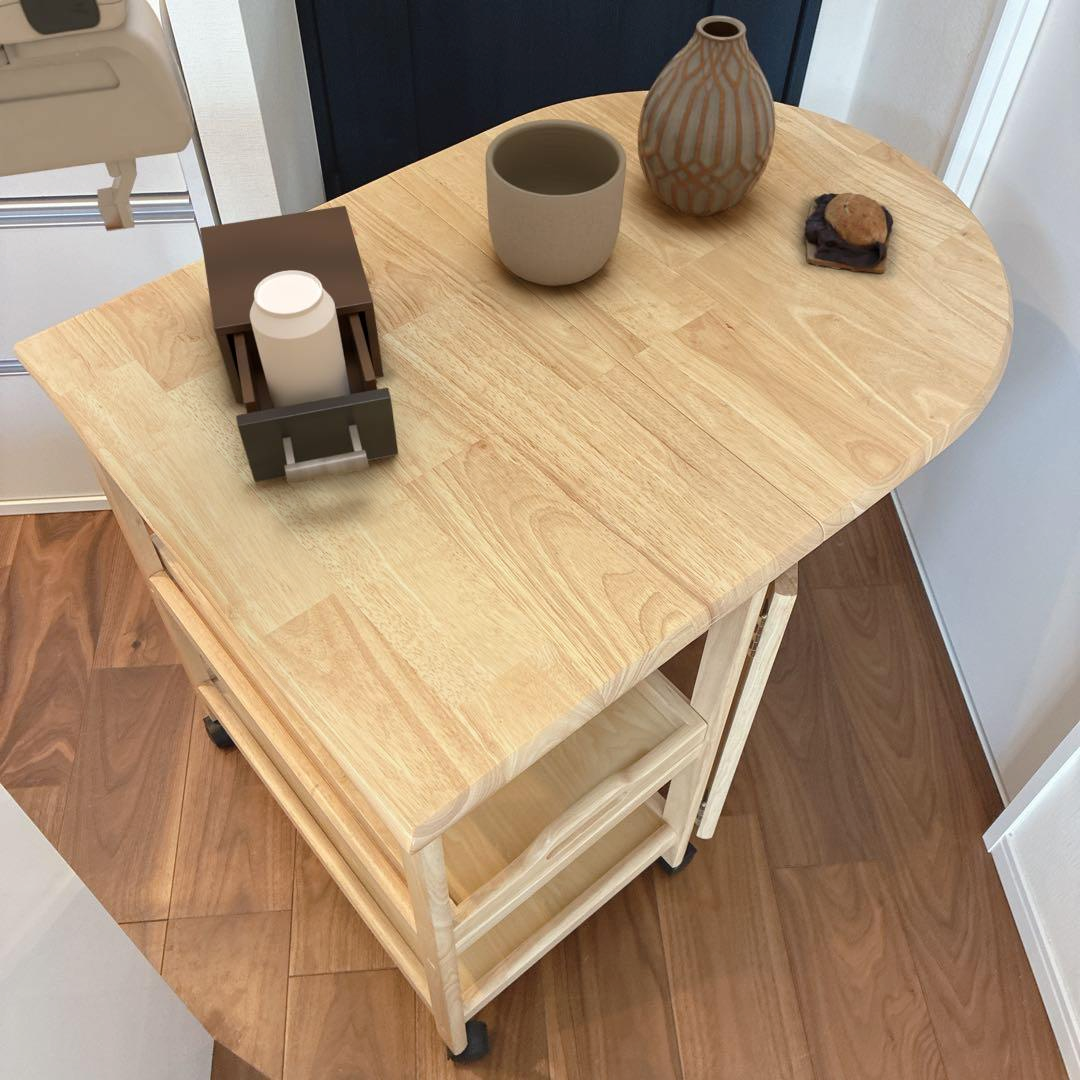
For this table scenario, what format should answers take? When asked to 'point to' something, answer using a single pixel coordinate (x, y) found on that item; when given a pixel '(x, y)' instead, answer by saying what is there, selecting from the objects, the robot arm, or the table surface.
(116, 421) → the table surface
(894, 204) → the table surface
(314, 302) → the beverage can
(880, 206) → the bread roll
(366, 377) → the drawer
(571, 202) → the planter
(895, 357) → the table surface
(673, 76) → the vase
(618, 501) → the table surface
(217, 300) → the cabinet
